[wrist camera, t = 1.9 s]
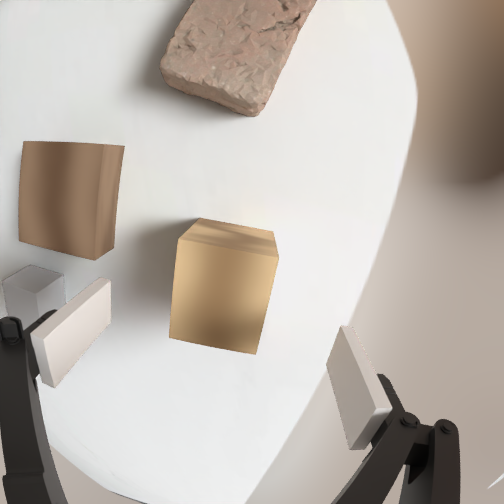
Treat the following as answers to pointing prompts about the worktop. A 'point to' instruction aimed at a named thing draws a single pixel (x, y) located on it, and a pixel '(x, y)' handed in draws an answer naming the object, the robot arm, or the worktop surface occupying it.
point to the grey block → (33, 293)
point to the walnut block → (69, 196)
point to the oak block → (222, 285)
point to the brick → (233, 50)
